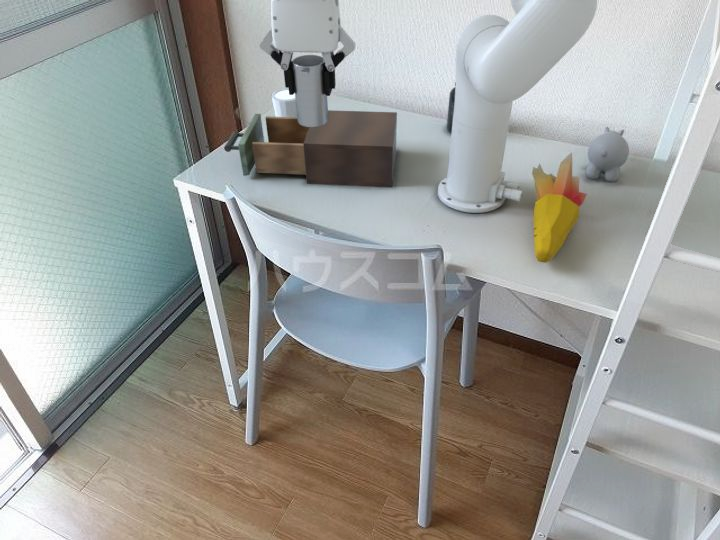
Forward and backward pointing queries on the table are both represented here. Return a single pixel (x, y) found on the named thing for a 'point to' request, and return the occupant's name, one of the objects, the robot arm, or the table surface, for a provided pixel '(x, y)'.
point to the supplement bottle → (451, 109)
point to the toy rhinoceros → (607, 155)
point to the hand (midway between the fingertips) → (310, 91)
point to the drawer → (271, 146)
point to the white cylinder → (284, 103)
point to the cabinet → (352, 149)
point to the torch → (555, 208)
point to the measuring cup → (310, 90)
